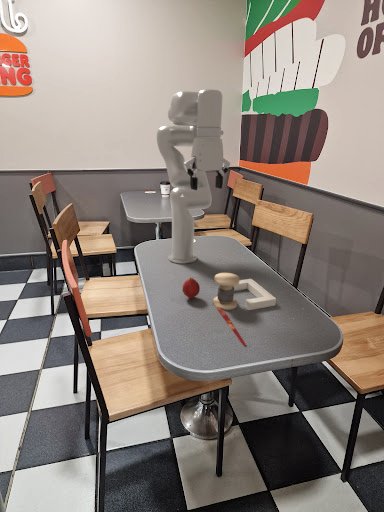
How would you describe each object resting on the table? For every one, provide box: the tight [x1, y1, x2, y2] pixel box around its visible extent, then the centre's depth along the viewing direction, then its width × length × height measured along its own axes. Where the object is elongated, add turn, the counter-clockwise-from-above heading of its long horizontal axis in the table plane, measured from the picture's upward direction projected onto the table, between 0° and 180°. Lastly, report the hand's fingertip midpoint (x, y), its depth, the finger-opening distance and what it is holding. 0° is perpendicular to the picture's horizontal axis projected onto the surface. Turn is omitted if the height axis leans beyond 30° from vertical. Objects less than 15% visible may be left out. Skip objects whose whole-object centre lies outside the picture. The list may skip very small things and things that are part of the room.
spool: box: [212, 272, 241, 311], centre depth 103 cm, size 8×8×10 cm
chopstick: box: [215, 307, 247, 348], centre depth 95 cm, size 2×24×1 cm, turn 16°
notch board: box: [233, 278, 277, 311], centre depth 110 cm, size 16×10×2 cm, turn 20°
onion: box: [181, 276, 200, 300], centre depth 106 cm, size 6×6×8 cm
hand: (206, 188), depth 106 cm, fingers open, 9 cm apart
